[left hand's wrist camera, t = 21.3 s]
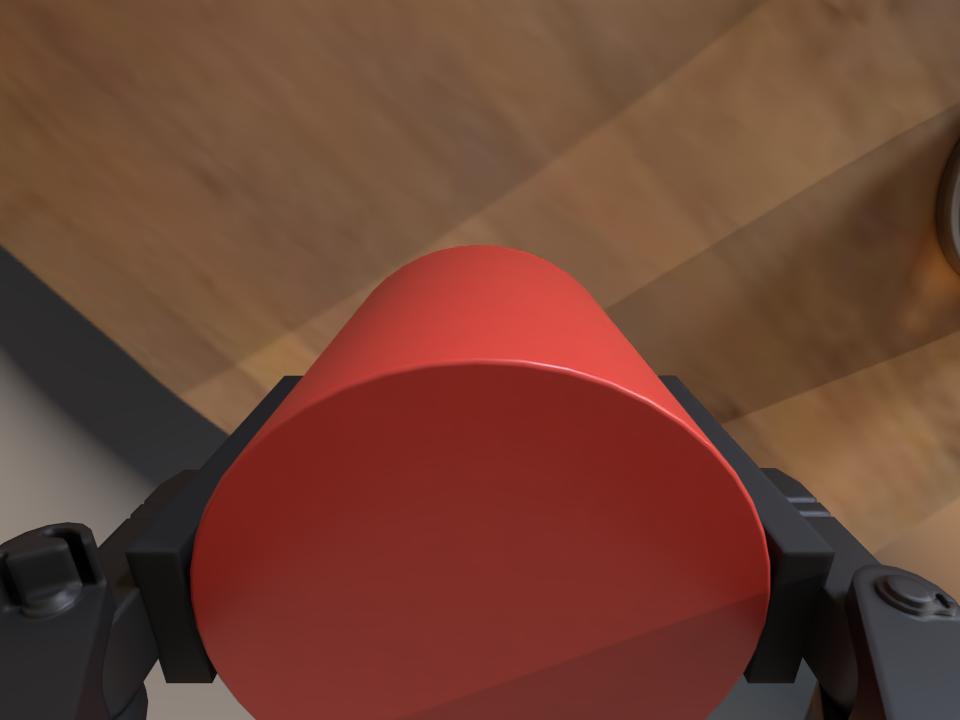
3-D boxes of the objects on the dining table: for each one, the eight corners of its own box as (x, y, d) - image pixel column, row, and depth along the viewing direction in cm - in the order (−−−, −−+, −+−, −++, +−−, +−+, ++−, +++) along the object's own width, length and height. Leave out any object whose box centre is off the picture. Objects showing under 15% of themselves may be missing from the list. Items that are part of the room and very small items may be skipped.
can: (344, 226, 15) (155, 320, 6) (648, 263, 15) (868, 399, 6) (339, 486, 18) (209, 783, 9) (588, 510, 18) (684, 818, 10)
